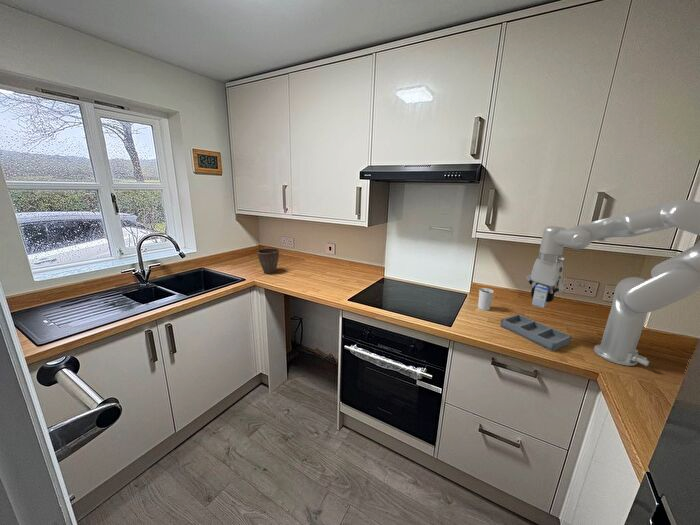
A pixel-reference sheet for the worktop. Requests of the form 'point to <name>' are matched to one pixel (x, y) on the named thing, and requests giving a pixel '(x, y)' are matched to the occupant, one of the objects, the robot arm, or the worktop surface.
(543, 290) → the medicine box
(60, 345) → the worktop surface
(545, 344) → the organizer tray
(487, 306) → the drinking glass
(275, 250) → the plant pot
